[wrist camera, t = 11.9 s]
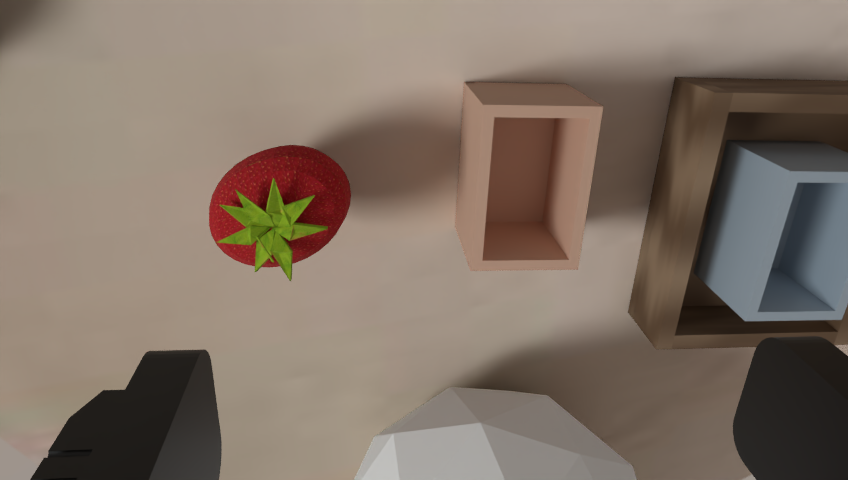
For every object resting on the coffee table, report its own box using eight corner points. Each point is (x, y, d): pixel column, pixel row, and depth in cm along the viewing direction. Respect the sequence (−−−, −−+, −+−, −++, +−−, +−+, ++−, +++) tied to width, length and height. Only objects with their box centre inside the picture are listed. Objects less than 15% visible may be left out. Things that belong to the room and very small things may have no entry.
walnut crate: (675, 77, 36) (715, 92, 32) (879, 81, 37) (942, 96, 33) (628, 312, 43) (656, 349, 39) (802, 308, 44) (847, 344, 40)
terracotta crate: (464, 81, 35) (483, 104, 30) (566, 83, 36) (603, 106, 30) (455, 227, 39) (470, 270, 33) (547, 226, 39) (577, 269, 34)
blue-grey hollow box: (726, 139, 37) (790, 171, 32) (819, 141, 38) (897, 172, 32) (693, 272, 41) (744, 321, 35) (778, 272, 41) (841, 319, 36)
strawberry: (371, 186, 37) (374, 259, 28) (263, 241, 38) (233, 329, 29) (321, 99, 35) (307, 149, 26) (207, 159, 36) (154, 228, 26)
